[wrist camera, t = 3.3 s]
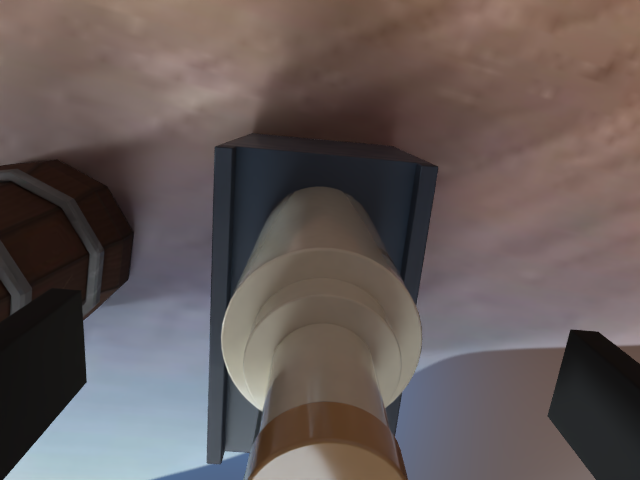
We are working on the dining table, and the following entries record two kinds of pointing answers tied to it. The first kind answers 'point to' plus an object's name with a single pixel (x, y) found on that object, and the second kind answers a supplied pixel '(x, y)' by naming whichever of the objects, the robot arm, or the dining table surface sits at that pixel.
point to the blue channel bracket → (249, 218)
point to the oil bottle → (321, 342)
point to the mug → (59, 236)
